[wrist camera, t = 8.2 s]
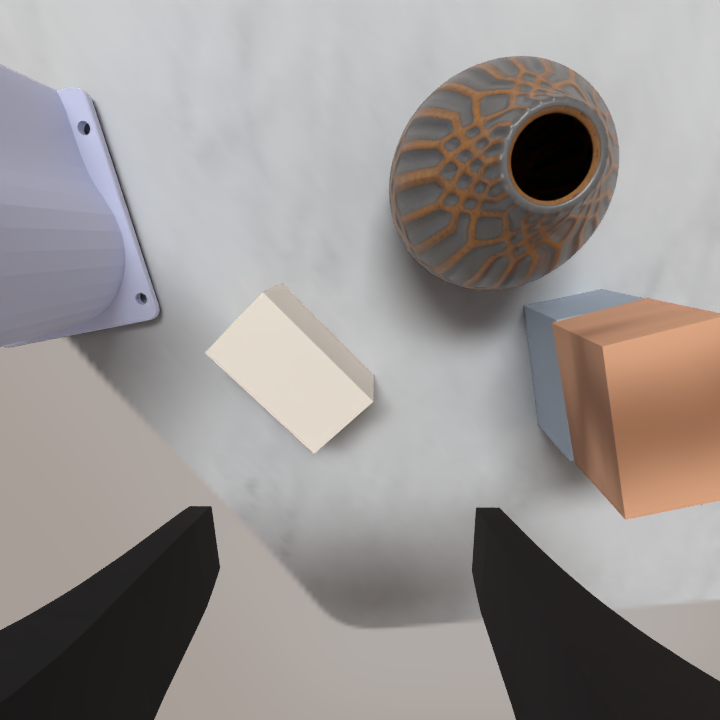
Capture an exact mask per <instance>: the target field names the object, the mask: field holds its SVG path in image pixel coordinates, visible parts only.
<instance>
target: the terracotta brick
mask: <svg viewBox="0 0 720 720" xmlns="http://www.w3.org/2000/svg"><path fill="white" fill-rule="evenodd" d="M552 328H553V334H554V340H555V346H556V352H557V358H558V364H559V370H560V376H561V382H562V388H563V395H564V400H565V407H566V413H567V419H568V425H569V431H570V437H571V443H572V449H573V455H574V462H575V463H576V465H577V466H578V467H579V468H580V469H581V470H582V471H583V472H584V474H585V475H586V476H587V477H588V478H589V479H590V480H591V481H592V483H593V484H594V485H595V486H596V487H597V488H598V489H599V490H600V492H601V493H602V494H603V495H604V496H605V497H606V498H607V499H608V501H609V502H610V503H611V504H612V505H613V506H614V507H615V508H616V509H617V511H618V512H619V513H620V514H621V515H622V516H623V517H624V518H625V520H626V519H630V518H635V517H640V516H645V515H650V514H655V513H660V512H665V511H670V510H675V509H680V508H685V507H690V506H694V505H699V504H704V503H709V502H714V501H719V500H720V313H715V312H710V311H706V310H701V309H696V308H692V307H687V306H682V305H677V304H673V303H668V302H663V301H659V300H654V299H649V298H645V299H641V300H637V301H634V302H630V303H626V304H622V305H618V306H614V307H610V308H607V309H603V310H599V311H595V312H591V313H587V314H584V315H580V316H576V317H572V318H568V319H564V320H561V321H557V322H553V323H552Z"/></svg>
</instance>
